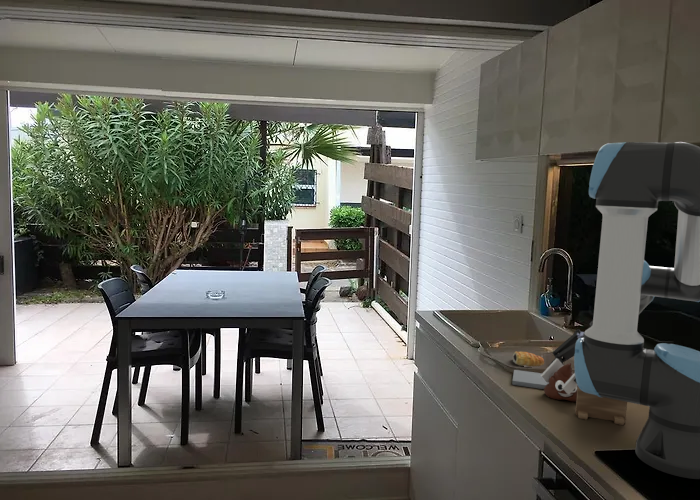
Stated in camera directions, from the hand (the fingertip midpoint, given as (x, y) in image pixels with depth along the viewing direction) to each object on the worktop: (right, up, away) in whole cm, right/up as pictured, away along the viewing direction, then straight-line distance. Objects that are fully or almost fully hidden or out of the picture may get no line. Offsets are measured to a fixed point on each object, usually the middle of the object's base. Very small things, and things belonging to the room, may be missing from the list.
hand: (554, 384), depth 149 cm
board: (-2, -2, +13) cm, 13 cm away
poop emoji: (+3, -4, +2) cm, 5 cm away
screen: (+7, -5, -11) cm, 14 cm away
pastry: (+2, -1, +30) cm, 30 cm away
